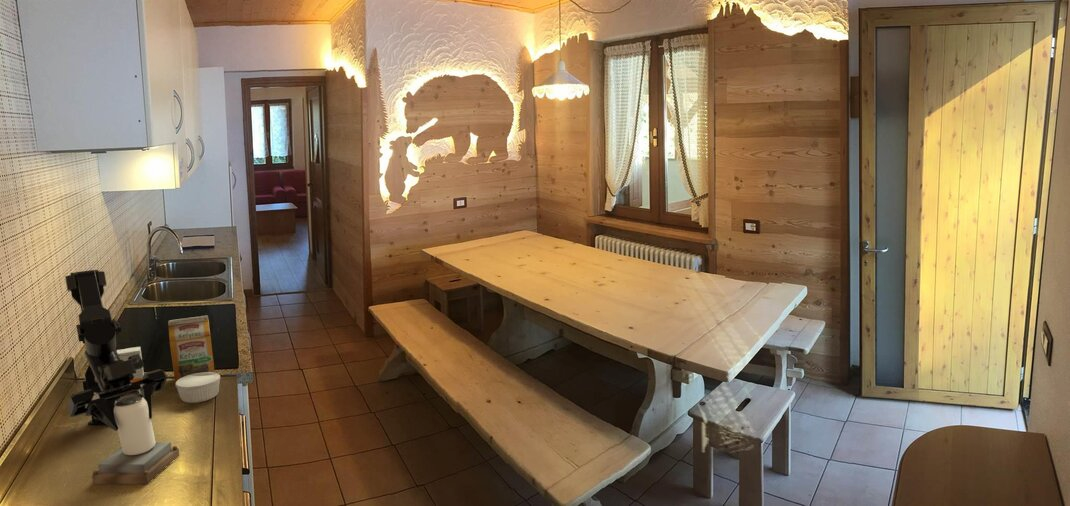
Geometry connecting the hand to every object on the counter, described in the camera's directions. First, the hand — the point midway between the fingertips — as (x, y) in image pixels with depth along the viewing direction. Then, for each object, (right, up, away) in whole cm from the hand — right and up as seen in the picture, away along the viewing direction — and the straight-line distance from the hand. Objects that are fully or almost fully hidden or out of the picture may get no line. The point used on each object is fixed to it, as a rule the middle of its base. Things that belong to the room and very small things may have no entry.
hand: (134, 424), depth 146 cm
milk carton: (-15, -1, +56) cm, 58 cm away
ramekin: (-7, -3, +43) cm, 43 cm away
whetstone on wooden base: (-1, -11, +3) cm, 11 cm away
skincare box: (-29, -2, +48) cm, 57 cm away
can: (-1, -7, +4) cm, 8 cm away
